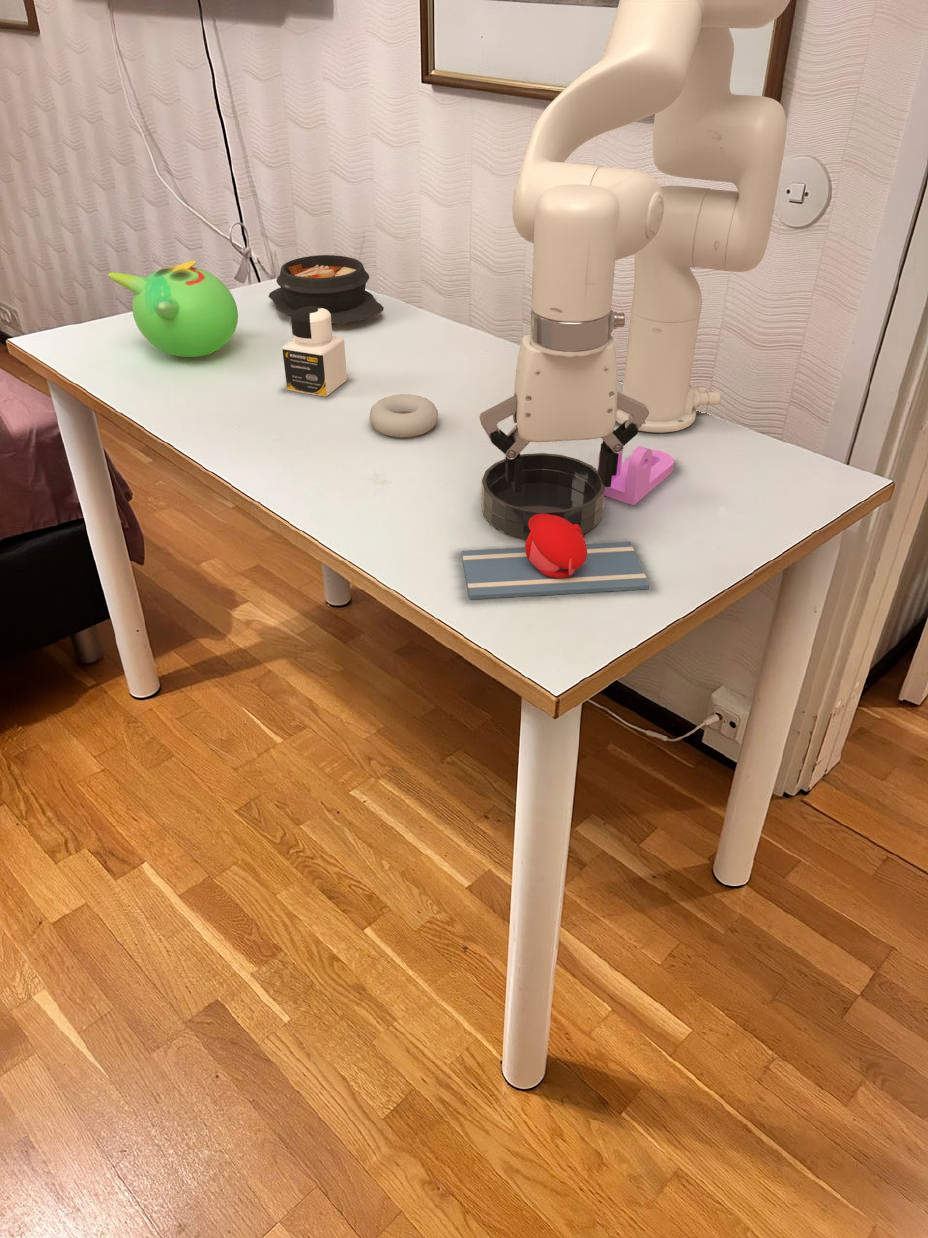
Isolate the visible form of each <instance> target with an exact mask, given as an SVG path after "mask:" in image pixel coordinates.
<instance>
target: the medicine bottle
mask: <svg viewBox="0 0 928 1238" xmlns="http://www.w3.org/2000/svg"><path fill="white" fill-rule="evenodd" d="M290 323H291V324H290V325H291V334H292V340H290V341H288V343H285V344H284V345H283V346H282V348H281V350H282V357H283V366H284V367H283V368H284V373H285V381H286V382H285V383H286V389H287V391H290V392H297V393H302V394H307V395H314V396H319V397H324V398H327V397H328V396H329V395H331V394H332V393H333V392H335V391H336V389H338V388H339V387H340V386H342V385H344V384H345V383H346V382H347V381H348V374H347V360H346V348H345V347H346V346H345V338H343V337H341V336H334V335H333V327H332V323H331V314H330V312H329V311H328V310H326V309H324V308H321V307H316V306H309V307H302V308H299V309H297V310H295V311H294V312H293V313H292V314H291V316H290Z"/></svg>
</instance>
